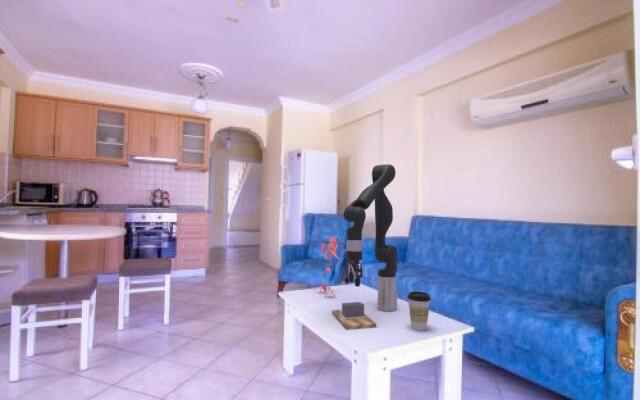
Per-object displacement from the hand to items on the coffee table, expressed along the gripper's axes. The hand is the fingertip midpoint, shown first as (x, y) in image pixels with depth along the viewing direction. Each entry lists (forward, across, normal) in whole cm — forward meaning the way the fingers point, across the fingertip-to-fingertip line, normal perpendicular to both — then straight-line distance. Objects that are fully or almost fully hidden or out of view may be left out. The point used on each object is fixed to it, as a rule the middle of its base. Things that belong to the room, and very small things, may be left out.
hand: (354, 284), depth 153 cm
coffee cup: (+17, -15, -25) cm, 34 cm away
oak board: (+17, +1, 0) cm, 17 cm away
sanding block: (+15, +1, 0) cm, 15 cm away
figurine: (+18, +45, -3) cm, 48 cm away
